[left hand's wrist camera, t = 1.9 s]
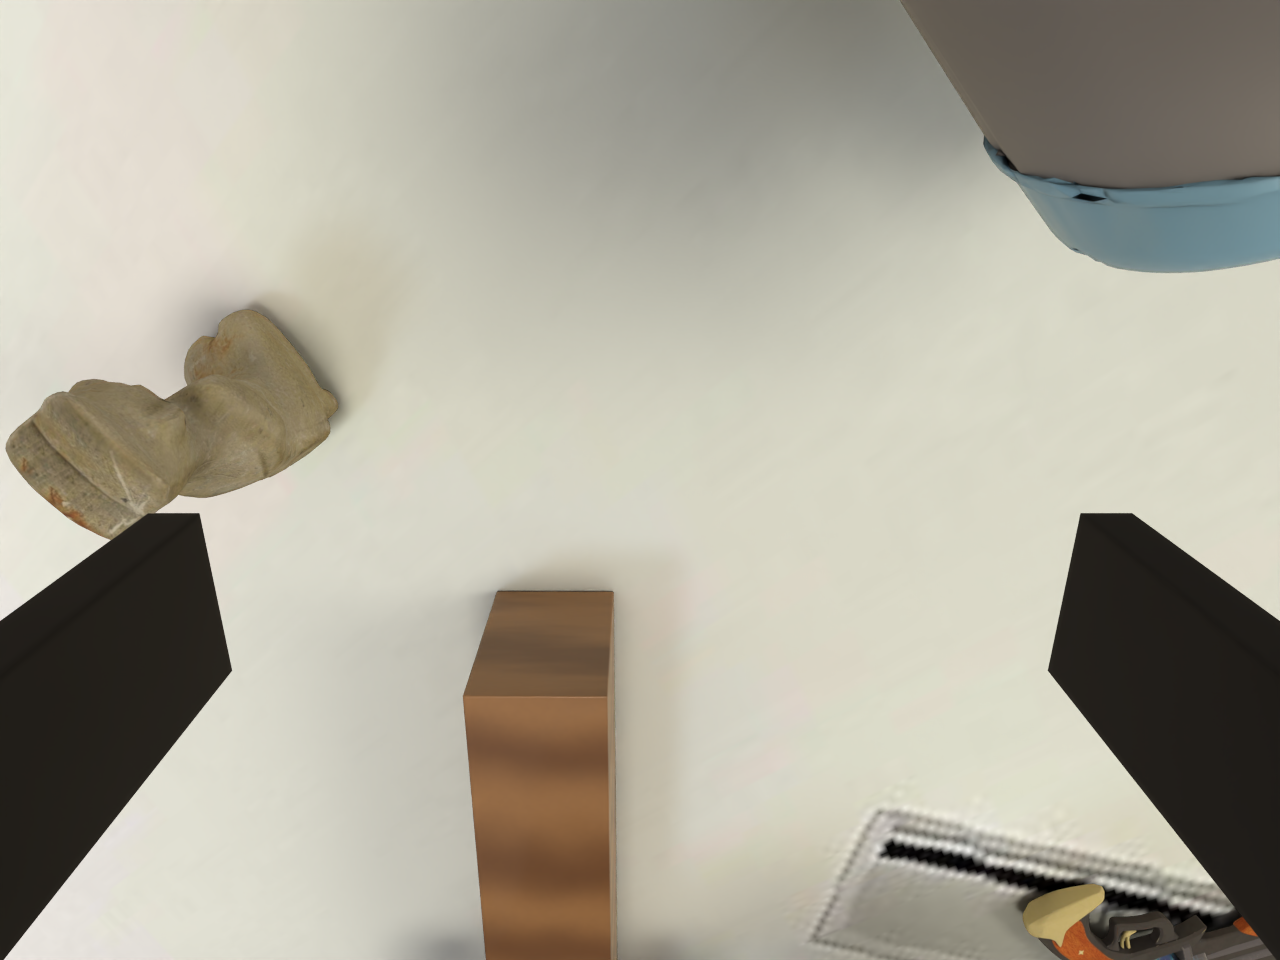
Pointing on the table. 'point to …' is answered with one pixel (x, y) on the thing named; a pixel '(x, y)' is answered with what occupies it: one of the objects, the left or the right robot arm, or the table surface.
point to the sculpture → (175, 430)
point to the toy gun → (1164, 956)
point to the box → (545, 776)
